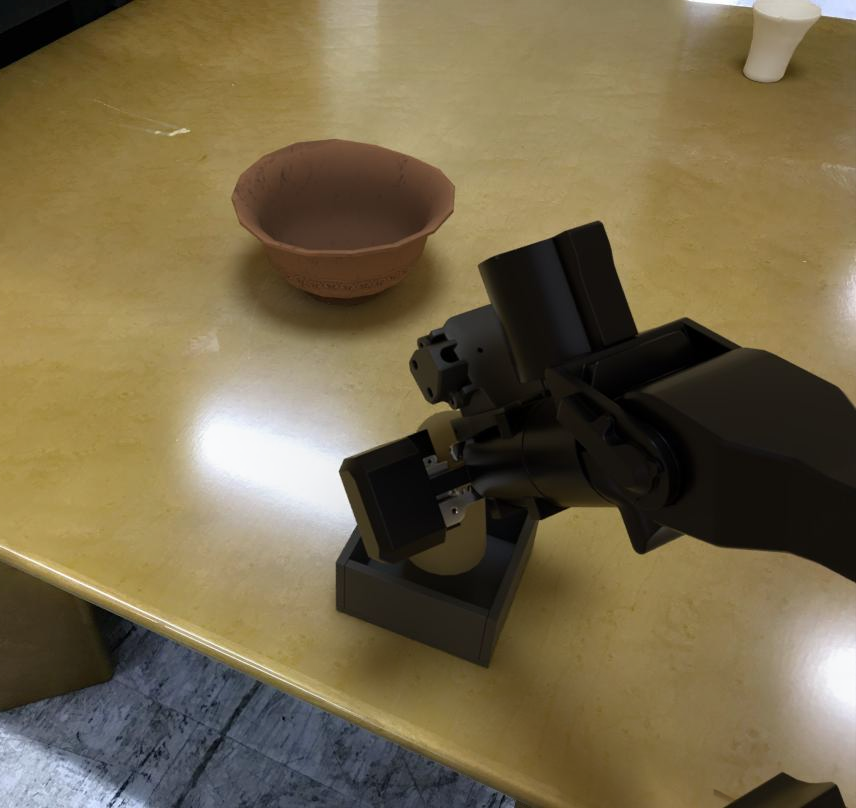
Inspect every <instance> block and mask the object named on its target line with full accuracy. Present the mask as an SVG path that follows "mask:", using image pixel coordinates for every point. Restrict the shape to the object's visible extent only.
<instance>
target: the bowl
mask: <svg viewBox="0 0 856 808" xmlns="http://www.w3.org/2000/svg"><path fill="white" fill-rule="evenodd" d="M230 198H231V203H232V205H233V209H234V211H235V214H236V217H237V221H238V223H239V225H240V226H241V227H243V228H244V229H245V230H246V231H247V232H248V233H250V234H251V235H252V236H253V237H254V238H256V239H257V240H258V241H259V242H260V243H262V245H263V248H264V250H265V254H266V256H267V258H268V260H269V263H270V265H271V267H272V269H273V270H274V271H275V272H276V273H277V275H279V276H280V277H282V278H283V280H285V281H287V282H288V283H289V284H290V285H292V286H293V287H295V288H296V289H298V290H301V291H304V292H305V293H306V294H308V295H309V296H310V297H311V298H313V300H316V301H318V302H321V303H324V304H327V305H329V306H330V305H331V306H343V307H348V306H355V305H360V304H364V303H366V302H368V301H370V300H373V299H375V298H377V297H378V296H379V295H380V293H381V292H383V291H384V290H387V289H389V288H391V287H394V286H395V285H397V284H398V283H400V282H402V280H403V279H404V278H406V276H408V274H409V273H410V272H411V270H412V269H413V268H414V267H415V266H416V265H417V264H418V262H419V261H420V259H421V257H422V255H423V252H424V251H425V246H426V243H427V240H428V237H430V236H432V235H434V234H435V233H436V232H437V231H438V230H439V229H440V228H441V227H442V226H443V225H444V223H446V222H447V220H448V219H449V218H450V217H452V215H453V214H454V211H455V199H456V186H455V184H454V183H453V182H452V181H451V180H450V179H449V178H448V177H447V175H446V174H445V172H443V171H442V169H440V168H438V167H436V166H434V165H431V164H429V163H427V162H426V161H423V160H421V159H418V158H417V157H414V156H413V155H412V156H411V155H409V154H405V153H402V152H399V151H397V150H393V149H391V148H387V147H385V146H384V147H383V146H381V145H378V144H372V143H366V142H360V141H353V140H348V139H347V140H346V139H339V138H329V139H319V140H308V141H299V142H294V143H292V144H289V145H287V146H285V147H281V148H280V149H277V150H275V151H271V152H270V153H267V154H264V155H262V156H261V157H260V158H259V159H257V160H256V161H255V162H254V163H252V164H251V166H249V167H248V168H247V169H245V170H244V171H243V172H242V173H241V174H239V176H238V179H237V182H236V184H235V187H234V188H233V191H232V194H231V196H230Z"/></svg>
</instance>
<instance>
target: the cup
mask: <svg viewBox="0 0 856 808" xmlns="http://www.w3.org/2000/svg"><path fill="white" fill-rule="evenodd" d="M822 13H823V9H822V7H820V6H819V5H818V4H816V3H814V2H812V1H810V0H755V1H754V2H753V3H752V16H753V29H752V38H751V44H750V48H749V51H748V55H747V58H746V61H745V64H744V66H743V70H742V72H743V75H744V76H745V77H746V78H747V79H749V80H751V81H754V82H759V83H767V84H769V83H776V82H779V81H780V80H781V79H782V78H784V76H785V73H786V71H787V68H788V66H789V63H790V61H791V59H792V57H793V55H794V52H795V50H796V48H798V45H799V44H800V43H801V42H802V41H803V39H804V37H805V36H806V33H807V32H808V31H809V30H810V29H811V28H812V26H814V24H815V23H817V22H818V20H819V19H820V18H821V16H822Z"/></svg>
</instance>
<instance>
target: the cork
mask: <svg viewBox="0 0 856 808" xmlns="http://www.w3.org/2000/svg"><path fill="white" fill-rule="evenodd" d="M460 416H461V413H460V410H458V409H457V410H453V409H451V410H443V411H439V412H435V413H434V414H432V415H430V416H428V417H427V418H426V419H425V420H424V421H422V423H420V425H419V426H418V427H417V430H416V432H419V431H422V430H424V429H427V430H428V432H429V435H430V438H431V441H432V444H433V447H434V449H435V452H436V455H437V458H438V461H439V463H440V462H443V461H447V463H448V466H449V468H452V467H454V466H457V465H459V464H462V463H464V460H461V459H460V458H459V462H454V460H453V459H452V457H451V454H450V451H449V447H450V446H451V445H452V444H455V443H457V442H458V441H457V440H456V437H455V434H454V431H453V429H452V426H451V423H450V420H452V419H455V418H458V417H460ZM468 485H472V484H471V483H468V484H466V485H463V486H461V487H458V488H457V490H460V491H461V492H462V488H463V487H466V489H467V486H468ZM451 496H456V493H455V494H453V495H451ZM460 523H461V525H460V526H458V527H456V528H454V529H451V530H449V531H447V532H446V539H445V543H442V544H440V545H438V546H435V547H433V548H431V549H428V550H426V551H424V552H421V553H419V554H417V555H414V556H412V557H410V558H409V559H410V560H411V561H412V562H413V563H414V564H415V565H416V566H417V567H419V568H421V569H423V570H425V571H427V572H430V573H434V574H439V575H457V574H460V573H463V572H467V571H469V570H470V569H472V568H473V567H475V566H476V565H478V564H479V562H480V561H481V560H482V558H483V557H484V555H485V551H486V546H487V537H486V514H485V499H482V500H480V501H477V502H475V503H473V504H470V505H468V506H467V507H466V511H465V516H464V518H463V519H462V521H460Z"/></svg>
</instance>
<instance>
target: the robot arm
mask: <svg viewBox="0 0 856 808" xmlns="http://www.w3.org/2000/svg"><path fill="white" fill-rule="evenodd" d="M477 269H478V271H479V275H480V277H481V281H482V283H483V286H484V288H485V291H486V294H487V297H488V300H489V302H490V303H488V304H486V305H483V306H479V307H477V308H473V309H471V310H467V311H464V312H462V313H459V314H456V315H453V316H451V317H449V318H447V319H446V320H445V322H444V324H443V325H442V327H438V328H435V329H432V330H430V332H429V333H428V334H425V335H423V336H420V337H418V338H417V340H416V347H417V349H415V350H414V351H413V353H412V355H411V356H410V359H409V361H408V366H409V372H410V374H411V376H412V377H413V379H414V381H415V383H416V385H417V386H418V388H419V391H420V393H421V395H422V396H423V398H424V400H425V401H426V402H427V403H429V404H430V405H433V406H434V405H437V404H440V403H446V404H448V406H449V408H451V410H457V411H460V413H461V416H460V417H458V418H455V419H452V420H450V423H451V426H452V429H453V431H454V434H455V437H456V440H457V441H458V442H457V443H455V444H452V445H451V446H450V447H449V451H450V454H451V457H452V459H453V460H454V462H459V458H460V459H461V460H464V463H462V464H459V465H457V466H454V467H452V468H449V466H448V463H447V461H443V462H440V463H439V461H438V458H437V455H436V452H435V449H434V447H433V444H432V441H431V438H430V435H429V432H428V430H427V429H424V430H422V431H419V432H417V431H415V432H414V433H412V434H409V435H406V436H404V437H401V438H397V439H395V440H390V441H388V442H385V443H382V444H380V445H379V444H378V445H377V446H374V447H371V448H368V449H366V450H365V451H360V452H358V453H356V454H353V455H351V456H347V457H345V458H343V460H342V463H341V465H340V467H339V470H338V474H339V477H340V480H341V483H342V486H343V488H344V492H345V494H346V497H347V500H348V502H349V506H350V508H351V511H352V514H353V517H354V520H355V523H356V525H357V526H358V528H359V531H360V534H361V537H362V540H363V543H364V545H365V548H366V551H367V554H368V557H370V558H372V559H374V560H376V561H378V562H380V563H386V564H392V565H393V564H396V563H398V562H400V561H403V560H405V559H407V558H410V557H412V556H414V555H417V554H419V553H421V552H424V551H426V550H428V549H431V548H433V547H435V546H438V545H440V544H442V543H445V539H446V532H447V531H449V530H451V529H454V528H456V527H458V526H460V525H461V523H460V521H462V519H463V518H464V516H465V511H466V507H467V506H468V505H470V504H473V503H475V502H477V501H480V500H482V499H486V501H487V504H488V507H489V510H490V513H491V516H492V518H493V519H503V518H505V517H508V516H510V515H512V514H515V513H517V512H519V511H522V510H524V509H526V508H527V510H528V513H529V516H530V519H531V520H539V521H543V520H546V519H548V518H550V517H552V516H555V515H557V514H559V513H562V512H564V511H566V510H568V509H571V508H607V509H608V508H610V509H611V508H617V509H618V511H619V513H620V516H621V519H622V521H623V525H624V527H625V530H626V533H627V535H628V536H627V537H628V538H629V542H630V544H631V547H632V549H633V551H634V552H635V554H638V555H641V556H642V555H646V554H648V553H650V552H652V551H655V550H656V549H659V548H661V547H662V546H665V545H666V544H670V543H671V542H673V541H675V540H678V539H680V538H681V537H684V536H688V537H690V538H692V539H695V540H699V542H700V541H701V542H703V543H706V544H709V545H711V546H714V547H715V548H720V549H730V550H741V551H742V550H743V551H755V552H756V551H757V552H769V553H783V554H788V555H792V556H795V557H797V558H801V559H803V560H806V561H809V562H812V563H815V564H817V565H819V566H821V567H824V568H826V569H827V570H829V571H831V572H833V573H835V574H837V575H839V576H841V577H843V578H844V579H846V580H848V581H850V582H852V583H853V584H856V405H855V404H854V403H853V402H852V400H851V399H850V397H849V396H848V395H847V394H846V393H845V391H844V390H842V389H841V388H840V387H839V386H837V385H836V384H834V383H832V382H830V381H828V380H826V379H824V378H823V377H821V376H818V375H816V374H815V373H812V372H810V371H809V370H806V369H804V368H803V367H801V366H799V365H796V364H795V363H793V362H791V361H789V360H787V359H786V358H783V357H781V356H779V355H777V354H776V353H772V352H771V351H768V350H765V349H762V348H761V349H760V348H753V347H743V346H741V345H739V344H737V343H736V342H734V341H733V340H730V339H729V338H727V337H725V336H722V335H721V334H719V333H718V332H715V331H713V330H712V329H710V328H709V327H706V326H705V325H703V324H701V323H700V322H697V321H695V320H693V319H692V318H690V317H687V316H684V317H681V318H677V319H676V320H673V321H670V322H667V323H665V324H662V325H659V326H657V327H652V328H649V329H646V330H642V331H639V330H638V328H637V325H636V322H635V319H634V316H633V313H632V310H631V308H630V305H629V302H628V299H627V296H626V294H625V293H626V292H624V287H623V285H622V282H621V280H620V277H619V274H618V270H617V268H616V265H615V260H614V254H613V249H612V246H611V243H610V239H609V236H608V234H607V231H606V228H605V225H604V223H603V222H602V221H601V220H594V221H591V222H588V223H585V224H581V225H578V226H576V227H572V228H568V229H565V230H562V231H561V232H560V233H557V234H555V235H553V236H552V237H549V238H546V239H543V240H539V241H536V242H533V243H530V244H526V245H524V246H521V247H517V248H513V249H511V250H507V251H505V252H502V253H498V254H495V255H493V256H490V257H489V258H487V259H485V260H483V261H481V262H480V263H478V264H477ZM468 483H471V484H472V485H468V486H467V489H466V487H463V488H462V492H461V491H460V490H457V488H458V487H461V486H463V485H466V484H468ZM455 493H456V496H451V495H453V494H455ZM722 808H849V807H848V806H846V804H845V801H844V797H843V795H842V793H841V790H840V788H839V786H838V784H837V783H835V782H833V781H823V782H808V781H804V780H800V779H798V778H796V777H793V776H792V775H790V774H789V773H786V772H784V771H781V772H779V773H778V774H775V775H774V776H773V777H771V778H770V779H768V780H766V781H764V782H763V783H761V784H759V785H758V786H756V787H754V788H753V789H751V790H749V791H748V792H746V793H745V794H743V795H741V796H739V797H738V798H737V799H735V800H732V801H731V802H729V803H728V804H726V805H725V806H723V807H722Z"/></svg>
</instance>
